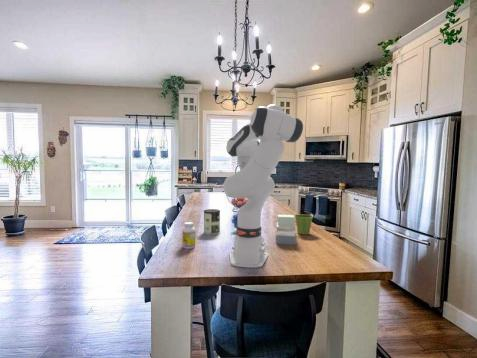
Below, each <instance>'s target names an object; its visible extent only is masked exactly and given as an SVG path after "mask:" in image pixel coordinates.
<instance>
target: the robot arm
mask: <svg viewBox="0 0 477 358" xmlns="http://www.w3.org/2000/svg"><path fill="white" fill-rule="evenodd" d="M249 121H250V123H248V124H246V125H244V126H242V127H241V129H240V130H238V131H237V133H236V134H235V135H234V136H233V137H230V138H229V139H228V141H227V142H226V152H227V154H229V155H230V157H236V159H237V160H236V165H238V166H239V167H238V168H239V171H238V172H236V173H234V174H233V175H229V176H227V177H226V178H225V180H224V181H223V185H222V186H223V187H222V188H223V192H224V194H225V195H226V197H228V198H232V199H247V200H246V202H245V204H244V205H242V206H240V207H239V208H238V210H237V213H238V226H237V228H236V229H235V230H236V231H235V232H236V234H235V235H234V237H233V246H232V248H231V249H232V250H231V251H229V253H228V254H229V262H230V265H231V266H233V267H236V268H237V267H238V268H250V269H251V268H252V269H253V268H261V267H263V266H264V264H265V262H266V260H267V259H268V257H269V253H268V252H265V250H266V249H265V245H266V244H265V237H263V236H262V226H261V223H262V222H261V220H262V219H261V218H262V209H263V207H264V204H265V202H266V201H267V199H268V198H269V197H270V196H271V195H272V194H273V193H274V191H275V188H276V185H275V181H274V179H273V178H272V177H271V175H272V173H273V172H274V170H275V169H276V167H277V166H278V164H279V162H280V160H281V158H282V156H283V152H284V150H285V146H284V142H283V141H285V142H286V143H296V142H298V141H299V139H300V138H301V136H302V134H303V130H304V124H303V121H302V120H301V119H300V118H298V117H296V116H292V115H290V114H288V113H286V112H285V111H284V110H283V108H282V107H281V106H280V105H278V104H274V103H273V104H269V105H268V106H257V107H256V108H255V109H254V111H252V114H251V116H250V120H249Z"/></svg>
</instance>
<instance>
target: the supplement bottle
mask: <svg viewBox="0 0 477 358" xmlns="http://www.w3.org/2000/svg"><path fill="white" fill-rule="evenodd" d="M183 224H184V225H183V226H184V227H183V228H182V238H181V239H182V248H183V249H185V250H187V249H189V250H190V249H193V248H195V247H196V228H195V227H194V222H192V221H187V222H184V223H183Z"/></svg>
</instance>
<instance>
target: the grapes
mask: <svg viewBox="0 0 477 358" xmlns="http://www.w3.org/2000/svg"><path fill="white" fill-rule="evenodd" d="M231 223H232V224H233V228H237V226H238V212H237V214H233V216H232V220H231Z"/></svg>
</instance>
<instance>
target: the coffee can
mask: <svg viewBox="0 0 477 358" xmlns="http://www.w3.org/2000/svg"><path fill="white" fill-rule="evenodd" d="M220 233H221V210H220V209H216V208H215V209H213V208H210V209H204V210H203V234H205V235H210V236H211V235H212V236H213V235H219V234H220Z"/></svg>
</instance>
